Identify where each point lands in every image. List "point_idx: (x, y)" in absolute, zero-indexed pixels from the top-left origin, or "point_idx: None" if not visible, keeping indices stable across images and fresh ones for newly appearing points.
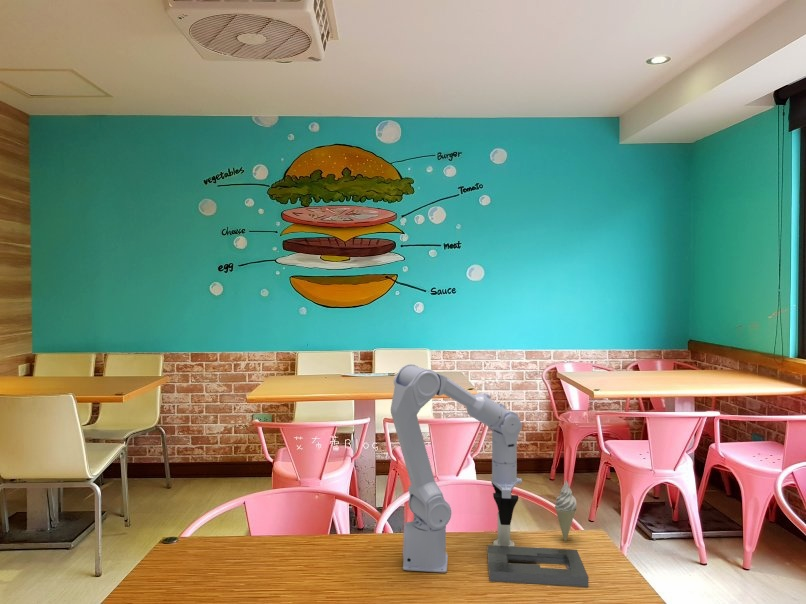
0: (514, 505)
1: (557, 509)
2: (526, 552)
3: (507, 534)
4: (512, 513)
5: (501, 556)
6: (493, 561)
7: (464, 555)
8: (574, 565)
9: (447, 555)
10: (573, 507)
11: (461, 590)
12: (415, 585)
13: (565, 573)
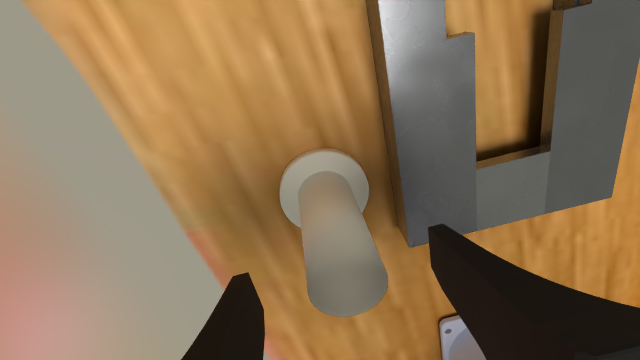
0: (589, 297)
1: None
2: (448, 90)
3: (355, 203)
4: (500, 258)
5: (497, 182)
6: (540, 200)
7: (423, 282)
8: None
9: (455, 321)
10: None
11: (628, 237)
12: None
13: None
